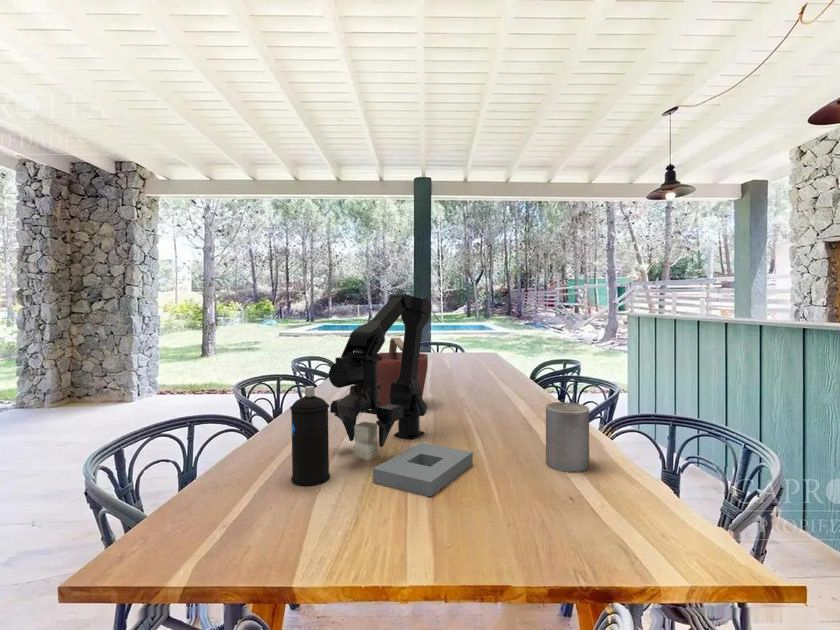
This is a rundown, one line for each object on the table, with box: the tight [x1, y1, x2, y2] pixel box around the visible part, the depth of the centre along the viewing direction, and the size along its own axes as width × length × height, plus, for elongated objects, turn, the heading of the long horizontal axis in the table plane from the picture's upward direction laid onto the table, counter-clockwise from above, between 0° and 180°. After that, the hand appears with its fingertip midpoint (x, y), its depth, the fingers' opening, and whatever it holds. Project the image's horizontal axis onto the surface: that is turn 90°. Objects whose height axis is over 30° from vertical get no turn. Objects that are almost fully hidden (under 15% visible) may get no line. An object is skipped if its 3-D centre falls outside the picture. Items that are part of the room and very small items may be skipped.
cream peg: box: [354, 421, 379, 461], centre depth 111 cm, size 4×4×8 cm
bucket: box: [377, 337, 429, 407], centre depth 160 cm, size 24×22×25 cm
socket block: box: [372, 442, 474, 498], centre depth 101 cm, size 20×14×3 cm
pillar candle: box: [545, 400, 590, 473], centre depth 105 cm, size 10×10×15 cm
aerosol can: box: [289, 385, 331, 487], centre depth 98 cm, size 8×8×20 cm
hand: (366, 443), depth 112 cm, fingers open, 9 cm apart
